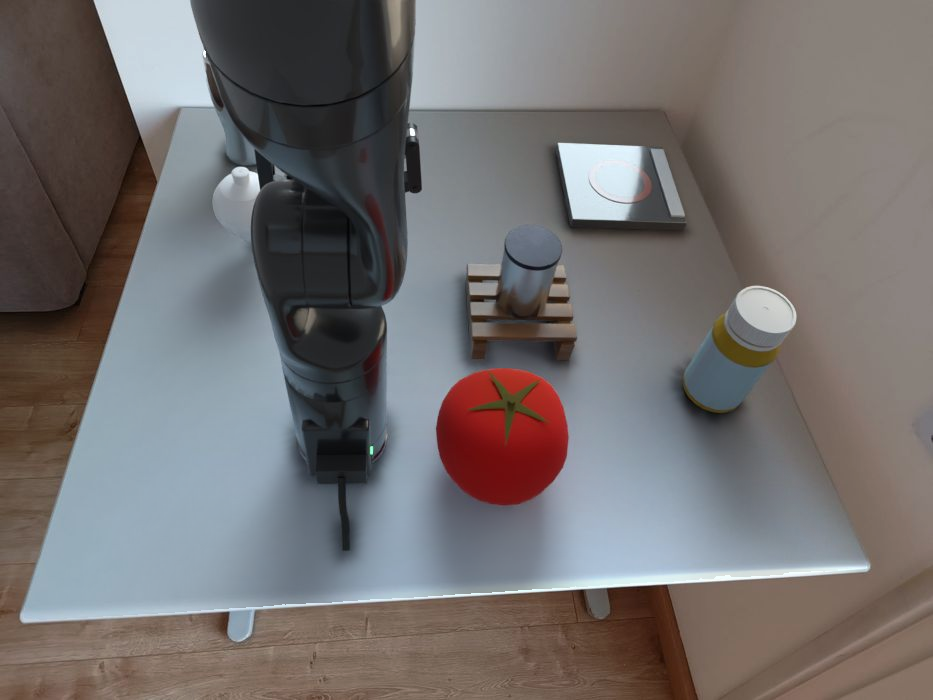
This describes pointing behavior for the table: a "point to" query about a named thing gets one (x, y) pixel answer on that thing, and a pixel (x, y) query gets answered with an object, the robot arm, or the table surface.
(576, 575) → the table surface
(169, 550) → the table surface
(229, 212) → the spinning top
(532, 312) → the metal canister
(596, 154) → the stove
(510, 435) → the tomato
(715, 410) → the bottle
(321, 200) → the robot arm
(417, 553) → the table surface
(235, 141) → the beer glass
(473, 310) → the wooden pallet
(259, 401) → the table surface
